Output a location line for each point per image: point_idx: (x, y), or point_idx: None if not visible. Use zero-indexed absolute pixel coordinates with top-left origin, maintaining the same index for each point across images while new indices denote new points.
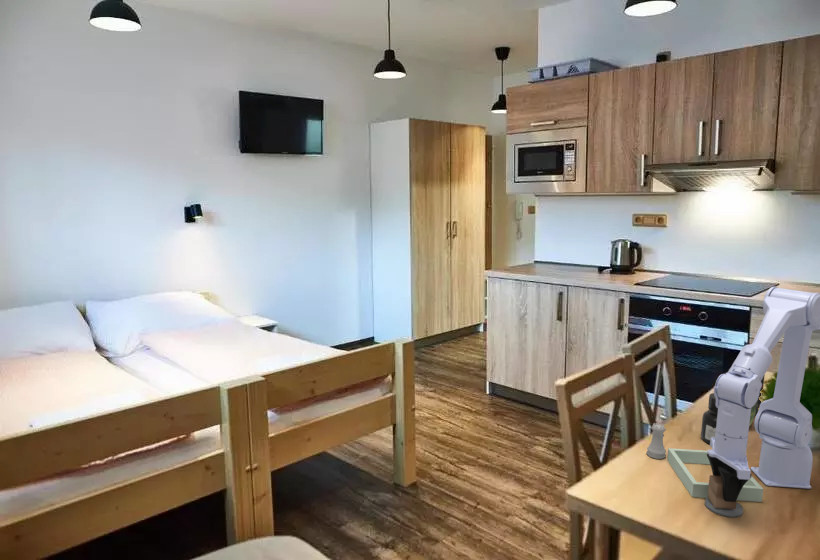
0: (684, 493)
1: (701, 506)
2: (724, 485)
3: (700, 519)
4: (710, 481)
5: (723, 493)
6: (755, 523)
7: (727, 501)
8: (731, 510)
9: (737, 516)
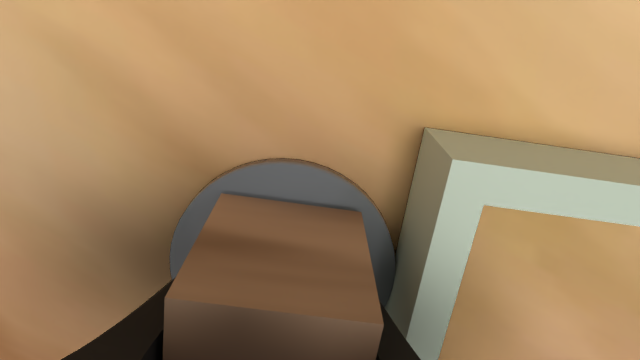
0: (479, 96)
1: (300, 131)
2: (83, 351)
3: (126, 35)
4: (345, 287)
5: None
6: None
7: None
8: None
9: None
